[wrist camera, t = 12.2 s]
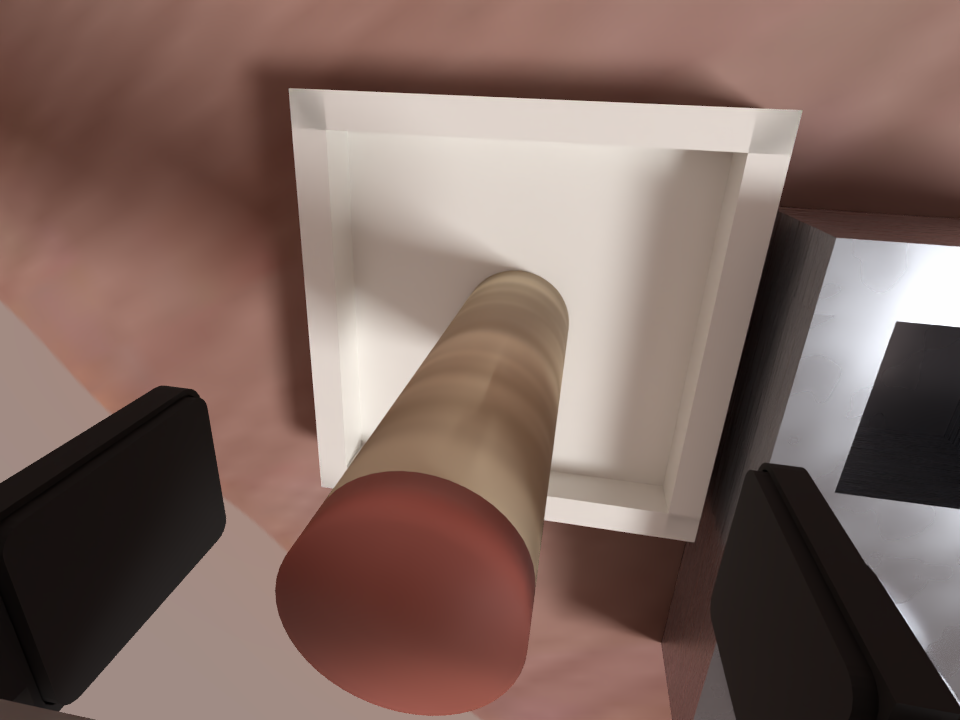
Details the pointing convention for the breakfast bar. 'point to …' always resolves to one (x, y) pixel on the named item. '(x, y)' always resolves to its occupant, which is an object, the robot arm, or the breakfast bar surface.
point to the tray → (544, 270)
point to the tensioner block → (843, 425)
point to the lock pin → (440, 517)
